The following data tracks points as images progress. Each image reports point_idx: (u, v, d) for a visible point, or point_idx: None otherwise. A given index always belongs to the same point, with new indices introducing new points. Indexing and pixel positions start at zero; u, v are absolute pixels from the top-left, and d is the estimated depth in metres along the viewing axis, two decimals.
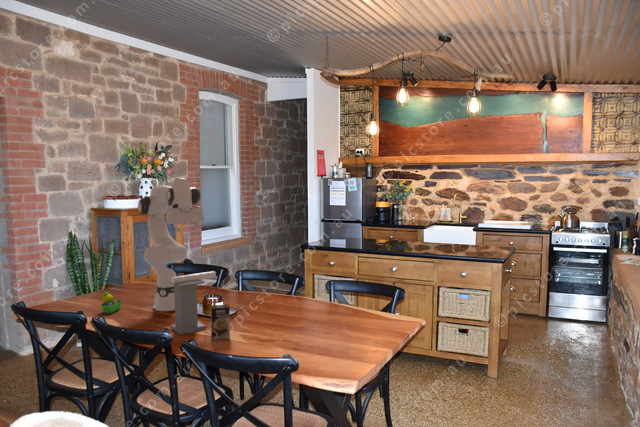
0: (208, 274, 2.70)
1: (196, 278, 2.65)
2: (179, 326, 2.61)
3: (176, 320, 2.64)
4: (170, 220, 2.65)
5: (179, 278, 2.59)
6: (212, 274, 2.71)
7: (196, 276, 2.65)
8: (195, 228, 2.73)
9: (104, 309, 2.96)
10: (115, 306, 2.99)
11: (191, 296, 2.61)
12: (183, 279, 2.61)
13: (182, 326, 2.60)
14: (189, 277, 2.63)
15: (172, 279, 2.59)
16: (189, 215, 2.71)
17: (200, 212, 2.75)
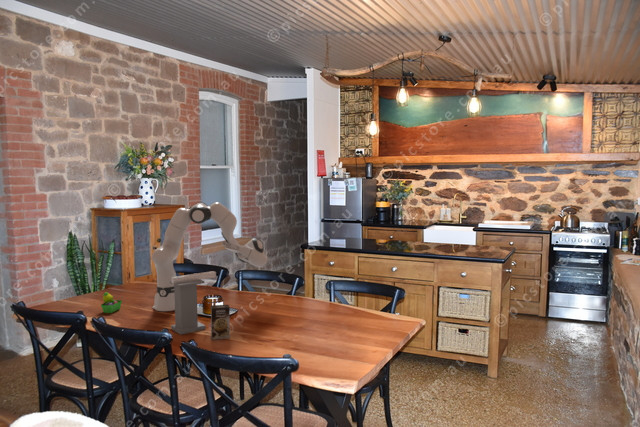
0: (208, 274, 2.70)
1: (196, 278, 2.65)
2: (179, 326, 2.61)
3: (176, 320, 2.64)
4: (240, 252, 2.87)
5: (179, 278, 2.59)
6: (212, 274, 2.71)
7: (196, 276, 2.65)
8: (223, 244, 2.95)
9: (104, 309, 2.96)
10: (115, 306, 2.99)
11: (191, 296, 2.61)
12: (183, 279, 2.61)
13: (182, 326, 2.60)
14: (189, 277, 2.63)
15: (172, 279, 2.59)
16: (234, 251, 2.97)
17: None
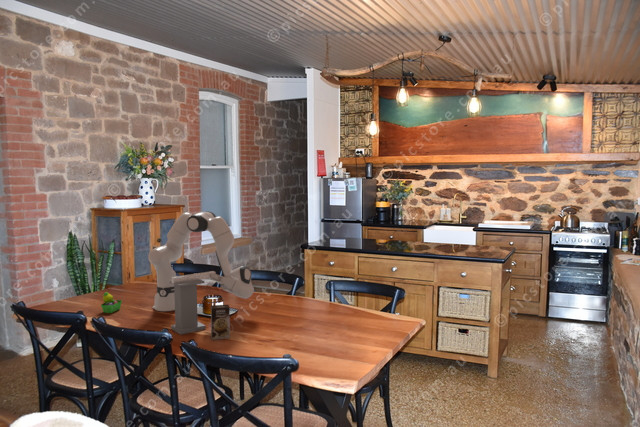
0: (208, 274, 2.70)
1: (196, 278, 2.65)
2: (179, 326, 2.61)
3: (176, 320, 2.64)
4: (224, 284, 2.68)
5: (179, 278, 2.59)
6: None
7: (196, 276, 2.65)
8: None
9: (104, 309, 2.96)
10: (115, 306, 2.99)
11: (191, 296, 2.61)
12: (183, 279, 2.61)
13: (182, 326, 2.60)
14: (189, 277, 2.63)
15: (172, 279, 2.58)
16: None
17: None
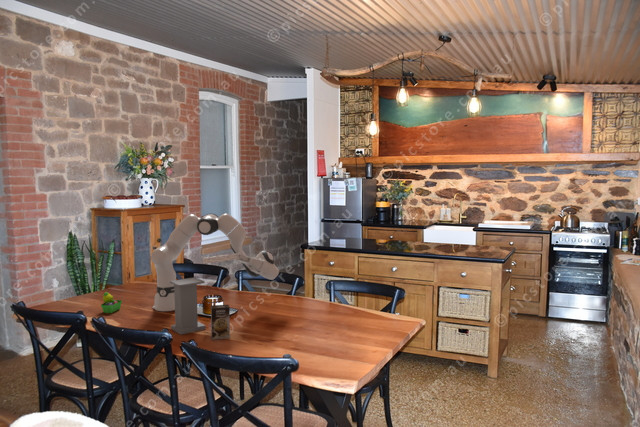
0: (237, 255, 2.80)
1: (226, 259, 2.76)
2: (179, 326, 2.61)
3: (176, 320, 2.64)
4: (252, 264, 2.78)
5: (210, 258, 2.70)
6: None
7: (226, 257, 2.76)
8: None
9: (104, 309, 2.96)
10: (115, 306, 2.99)
11: (191, 296, 2.61)
12: (214, 260, 2.71)
13: (182, 326, 2.60)
14: (219, 257, 2.73)
15: (204, 259, 2.69)
16: (245, 263, 2.88)
17: (242, 262, 2.94)
